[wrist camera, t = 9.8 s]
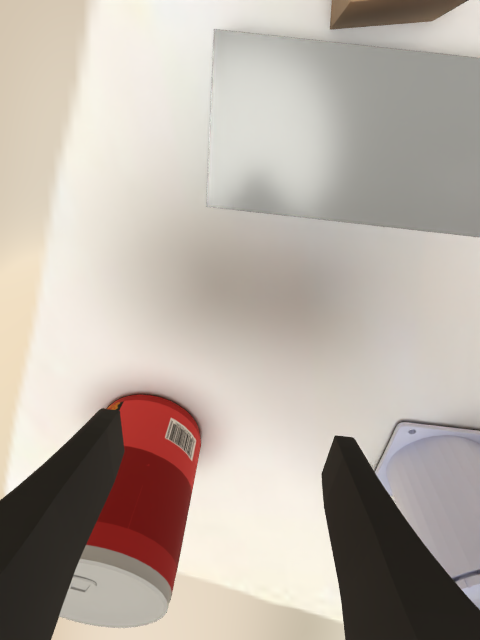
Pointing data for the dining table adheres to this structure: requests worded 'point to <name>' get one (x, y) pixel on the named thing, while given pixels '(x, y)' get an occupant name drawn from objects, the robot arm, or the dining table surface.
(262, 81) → the gray rectangular block
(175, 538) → the canned food
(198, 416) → the dining table surface
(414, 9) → the walnut block
